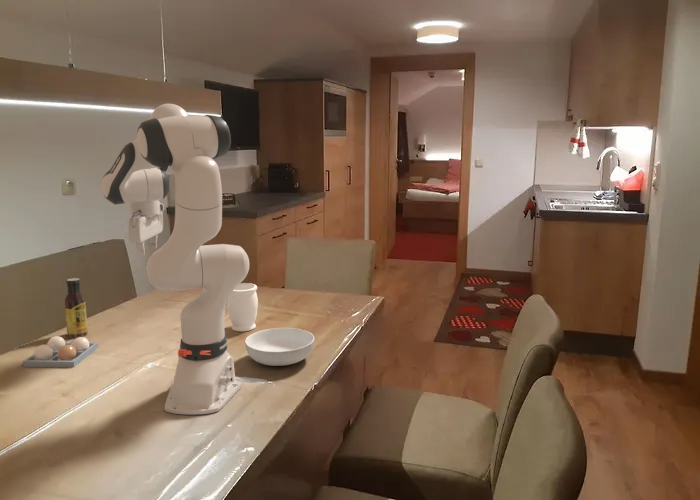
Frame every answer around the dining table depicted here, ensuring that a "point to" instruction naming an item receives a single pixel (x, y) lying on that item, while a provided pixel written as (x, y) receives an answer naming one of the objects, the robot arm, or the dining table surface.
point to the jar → (243, 307)
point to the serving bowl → (279, 346)
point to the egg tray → (55, 360)
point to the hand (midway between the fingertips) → (148, 251)
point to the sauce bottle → (75, 310)
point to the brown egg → (66, 353)
